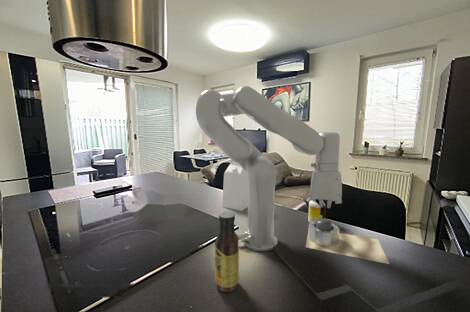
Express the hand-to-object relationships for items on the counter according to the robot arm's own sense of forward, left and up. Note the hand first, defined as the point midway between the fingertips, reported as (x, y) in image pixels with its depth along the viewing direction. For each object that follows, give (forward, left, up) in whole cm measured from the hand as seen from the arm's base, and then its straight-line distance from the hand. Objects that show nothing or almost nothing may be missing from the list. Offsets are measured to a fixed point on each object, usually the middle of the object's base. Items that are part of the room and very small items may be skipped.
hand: (324, 217), depth 76 cm
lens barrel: (0, 0, -9) cm, 9 cm away
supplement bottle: (+8, +14, -10) cm, 19 cm away
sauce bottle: (-40, -9, -10) cm, 42 cm away
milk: (-17, +48, -10) cm, 52 cm away
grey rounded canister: (0, 0, -8) cm, 8 cm away
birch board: (+5, -4, -10) cm, 12 cm away
